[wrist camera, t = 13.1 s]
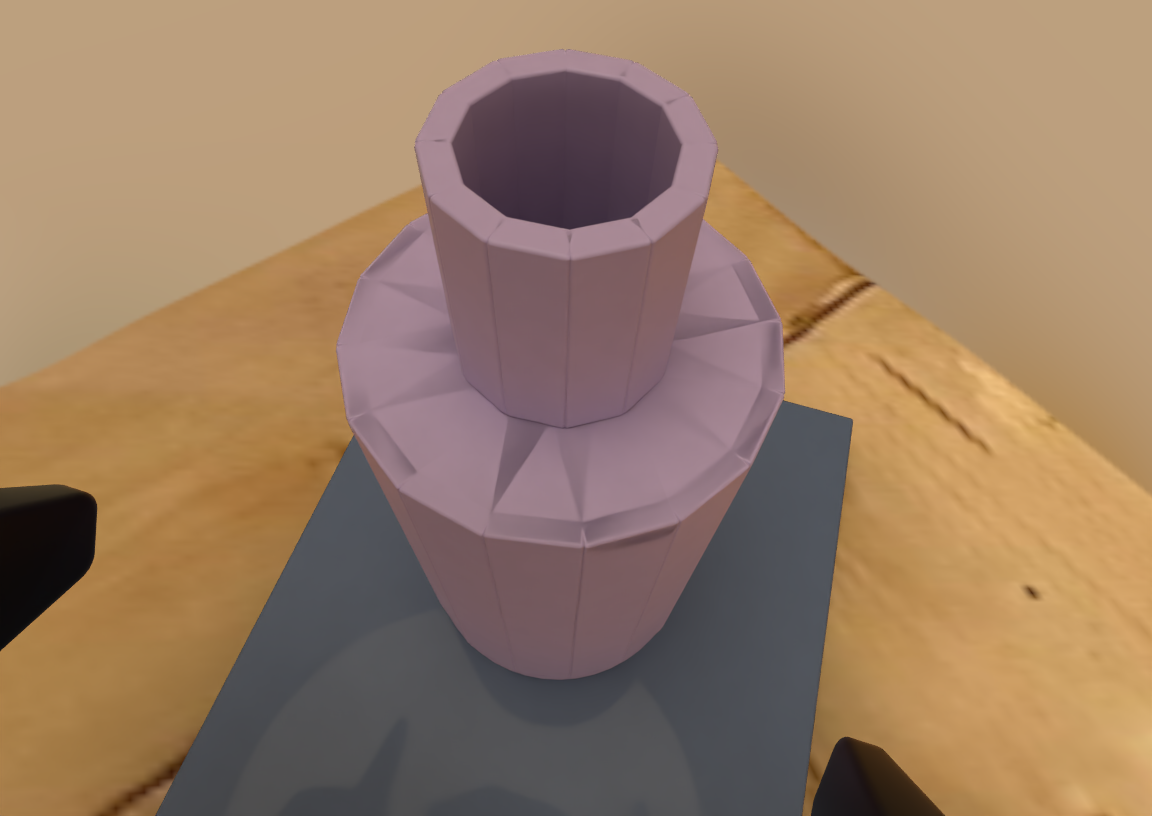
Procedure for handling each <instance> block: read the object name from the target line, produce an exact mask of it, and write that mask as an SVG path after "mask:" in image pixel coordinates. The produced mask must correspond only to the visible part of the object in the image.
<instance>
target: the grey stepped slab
mask: <svg viewBox="0 0 1152 816" xmlns="http://www.w3.org/2000/svg"><path fill="white" fill-rule="evenodd" d="M852 426H853V420H852V419H851V418H847V417H843V416H839V415H836V414H832V413H828V412H824V411H821V410H817V409H813V408H809V407H806V406H802V405H798V404H794V403H791V402H787V401H782V403H781V405H780V407H779V410H778V412H777V414H776V416H775V418H774V420H773V422H772V424H771V427H770V429H769V431H768V433H767V435H766V437H765V439H764V441H763V443H762V446H761V448H760V450H759V452H758V454H757V456H756V458H755V460H754V462H753V465H752V466H751V468H750V470H749V472H748V474H747V475H746V477H745V479H744V481H743V483H742V484H741V486H740V488H739V490H738V492H737V494H736V495H735V497H734V499H733V501H732V503H731V504H730V506H729V508H728V510H727V512H726V513H725V515H724V517H723V519H722V521H721V522H720V524H719V526H718V528H717V530H716V532H715V533H714V535H713V537H712V539H711V541H710V542H709V544H708V546H707V548H706V550H705V551H704V553H703V555H702V557H701V559H700V561H699V562H698V564H697V566H696V568H695V570H694V571H693V573H692V575H691V577H690V579H689V580H688V582H687V584H686V586H685V588H684V590H683V591H682V593H681V595H680V597H679V599H678V600H677V602H676V604H675V606H674V608H673V609H672V611H671V613H670V615H669V617H668V619H667V620H666V622H665V624H664V626H663V627H662V628H661V630H660V631H659V632H658V633H656V634H655V635H654V636H653V638H652V639H651V640H650V641H649V642H648V643H647V644H646V645H645V646H643V647H642V648H641V649H640V650H639V651H638V652H636V653H635V654H634V655H632V656H631V657H630V658H628V659H627V660H625V661H624V662H622V663H620V664H618V665H616V666H614V667H613V668H611V669H608V670H605V671H603V672H600V673H597V674H595V675H590V676H586V677H581V678H575V679H564V680H555V679H541V678H536V677H530V676H525V675H523V674H520V673H517V672H514V671H511V670H508V669H506V668H504V667H502V666H500V665H498V664H496V663H494V662H493V661H491V660H490V659H488V658H487V657H486V656H484V655H483V654H481V653H480V652H479V651H478V650H476V649H475V648H474V647H472V646H471V645H470V644H469V643H468V642H467V641H466V639H465V638H464V636H463V635H462V634H461V633H460V631H459V630H458V629H457V628H456V626H455V624H454V623H453V621H452V620H451V618H450V616H449V615H448V614H447V612H446V611H445V609H444V608H443V607H442V605H441V604H440V602H439V600H438V598H437V596H436V594H435V592H434V590H433V588H432V586H431V584H430V582H429V580H428V578H427V576H426V574H425V572H424V570H423V568H422V566H421V565H420V563H419V561H418V559H417V557H416V555H415V553H414V551H413V549H412V547H411V545H410V543H409V541H408V539H407V537H406V535H405V533H404V531H403V529H402V527H401V525H400V523H399V522H398V520H397V518H396V516H395V514H394V512H393V510H392V508H391V506H390V504H389V502H388V500H387V498H386V496H385V494H384V492H383V490H382V488H381V486H380V484H379V482H378V480H377V479H376V477H375V475H374V473H373V471H372V469H371V467H370V465H369V463H368V461H367V459H366V457H365V455H364V453H363V451H362V449H361V447H360V445H359V443H358V441H357V439H356V437H355V435H354V436H353V438H352V440H351V441H350V443H349V445H348V447H347V449H346V451H345V453H344V455H343V457H342V459H341V461H340V463H339V464H338V466H337V468H336V470H335V472H334V474H333V476H332V478H331V480H330V482H329V484H328V486H327V487H326V489H325V491H324V493H323V495H322V497H321V499H320V501H319V503H318V505H317V507H316V509H315V510H314V512H313V514H312V516H311V518H310V520H309V522H308V524H307V526H306V528H305V530H304V532H303V533H302V535H301V537H300V539H299V541H298V543H297V545H296V547H295V549H294V551H293V553H292V555H291V556H290V558H289V560H288V562H287V564H286V566H285V568H284V570H283V572H282V574H281V576H280V578H279V579H278V581H277V583H276V585H275V587H274V589H273V591H272V593H271V595H270V597H269V599H268V601H267V602H266V604H265V606H264V608H263V610H262V612H261V614H260V616H259V618H258V620H257V622H256V624H255V625H254V627H253V629H252V631H251V633H250V635H249V637H248V639H247V641H246V643H245V645H244V647H243V648H242V650H241V652H240V654H239V656H238V658H237V660H236V662H235V664H234V666H233V668H232V670H231V671H230V673H229V675H228V677H227V679H226V681H225V683H224V685H223V687H222V689H221V691H220V693H219V694H218V696H217V698H216V700H215V702H214V704H213V706H212V708H211V710H210V712H209V714H208V716H207V717H206V719H205V721H204V723H203V725H202V727H201V729H200V731H199V733H198V735H197V737H196V739H195V740H194V742H193V744H192V746H191V748H190V750H189V752H188V754H187V756H186V758H185V760H184V762H183V763H182V765H181V767H180V769H179V771H178V773H177V775H176V777H175V779H174V781H173V783H172V785H171V787H170V788H169V790H168V792H167V794H166V796H165V798H164V800H163V802H162V804H161V806H160V808H159V810H158V811H157V813H156V815H155V816H802V812H803V805H804V797H805V789H806V781H807V774H808V766H809V758H810V750H811V743H812V735H813V727H814V720H815V712H816V704H817V696H818V689H819V681H820V673H821V665H822V658H823V650H824V642H825V634H826V627H827V619H828V611H829V604H830V596H831V588H832V580H833V573H834V565H835V557H836V549H837V542H838V534H839V526H840V519H841V511H842V503H843V495H844V488H845V480H846V472H847V464H848V457H849V449H850V441H851V434H852Z"/></svg>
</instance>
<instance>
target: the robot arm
mask: <svg viewBox="0 0 1152 816" xmlns="http://www.w3.org/2000/svg"><path fill="white" fill-rule="evenodd" d="M96 521H97V504H96V501H95V499H94V497H93V496H92V495H91V494H89V493H87V492H84V491H81V490H78V489H74V488H71V487H68V486H65V485H40V486H26V487H11V488H0V651H1V650H2V649H3V648H4V647H5V646H6V645H7V644H8V643H10V642H11V641H12V640H13V639H14V638H15V637H16V636H17V635H18V634H20V633H21V632H22V631H23V630H24V629H25V628H26V627H27V626H29V625H30V624H31V623H32V622H33V621H34V620H35V619H36V618H37V617H39V616H40V615H41V614H42V613H43V612H44V611H45V610H46V609H47V608H49V607H50V606H51V605H52V604H53V603H54V602H55V601H56V600H57V599H59V598H60V597H61V596H62V595H63V594H64V593H65V592H66V591H67V590H69V589H70V588H71V587H72V586H73V585H74V584H75V583H76V582H78V581H79V580H80V579H81V578H82V577H83V576H84V575H85V574H86V572H87V571H88V570H89V568H90V566H91V564H92V562H93V559H94V554H95V538H96ZM811 816H945V815H944V814H943V813H942V812H941V811H940V810H939V809H938V808H937V806H936V805H935V804H934V803H933V802H932V801H931V800H930V799H929V798H928V797H927V796H926V795H925V794H924V793H923V792H922V790H921V789H920V788H919V787H918V786H917V785H916V784H915V783H914V782H913V781H912V780H911V779H910V778H909V777H908V775H907V774H906V773H905V772H904V771H903V770H902V769H901V768H900V767H899V766H898V765H897V764H896V763H895V762H894V760H893V759H892V758H891V757H890V756H889V755H888V754H887V753H886V752H885V751H884V750H883V749H881V748H880V747H878V746H875V745H872V744H869V743H866V742H862V741H859V740H856V739H853V738H850V737H844V738H842V739H840V740H839V741H838V742H837V744H836V745H835V747H834V750H833V752H832V755H831V757H830V760H829V762H828V765H827V767H826V770H825V772H824V775H823V777H822V780H821V782H820V785H819V788H818V790H817V793H816V795H815V798H814V802H813V807H812V813H811Z"/></svg>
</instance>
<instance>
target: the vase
mask: <svg viewBox="0 0 1152 816" xmlns="http://www.w3.org/2000/svg"><path fill="white" fill-rule="evenodd" d="M414 148H415V153H416V157H417V162H418V167H419V172H420V177H421V182H422V187H423V192H424V197H425V201H426V206H427V211H428V213H427V214H425V215H423V216H421V217H419V218H417V219H415V220H413V221H412V222H410V223H409V224H408V225H406V226H405V227H404V228H403V229H402V231H401V232H400V233H399V234H398V235H397V236H396V237H395V238H394V239H393V240H392V241H391V243H390V244H389V245H388V246H387V247H386V248H385V249H384V250H383V251H382V252H381V254H380V255H379V256H378V257H377V258H376V259H375V260H374V261H373V262H372V263H371V264H370V266H369V267H368V268H367V269H366V270H365V271H364V272H363V273H362V274H361V276H360V278H359V279H358V282H357V285H356V288H355V291H354V294H353V297H352V300H351V303H350V305H349V308H348V311H347V314H346V317H345V320H344V323H343V326H342V329H341V332H340V335H339V338H338V341H337V348H336V353H337V359H338V366H339V372H340V379H341V385H342V392H343V398H344V405H345V411H346V418H347V421H348V423H349V426H350V428H351V430H352V432H353V434H354V435H355V437H356V439H357V441H358V443H359V445H360V447H361V449H362V451H363V453H364V455H365V457H366V459H367V461H368V463H369V465H370V467H371V469H372V471H373V473H374V475H375V477H376V479H377V480H378V482H379V484H380V486H381V488H382V490H383V492H384V494H385V496H386V498H387V500H388V502H389V504H390V506H391V508H392V510H393V512H394V514H395V516H396V518H397V520H398V522H399V523H400V525H401V527H402V529H403V531H404V533H405V535H406V537H407V539H408V541H409V543H410V545H411V547H412V549H413V551H414V553H415V555H416V557H417V559H418V561H419V563H420V565H421V566H422V568H423V570H424V572H425V574H426V576H427V578H428V580H429V582H430V584H431V586H432V588H433V590H434V592H435V594H436V596H437V598H438V600H439V602H440V604H441V605H442V607H443V608H444V609H445V611H446V612H447V614H448V615H449V616H450V618H451V620H452V621H453V623H454V624H455V626H456V628H457V629H458V630H459V631H460V633H461V634H462V635H463V636H464V638H465V639H466V641H467V642H468V643H469V644H470V645H471V646H472V647H474V648H475V649H476V650H478V651H479V652H480V653H481V654H483V655H484V656H486V657H487V658H488V659H490V660H491V661H493V662H494V663H496V664H498V665H500V666H502V667H504V668H506V669H508V670H511V671H514V672H517V673H520V674H523V675H525V676H530V677H536V678H541V679H555V680H564V679H575V678H581V677H586V676H590V675H595V674H597V673H600V672H603V671H605V670H608V669H611V668H613V667H614V666H616V665H618V664H620V663H622V662H624V661H625V660H627V659H628V658H630V657H631V656H632V655H634V654H635V653H636V652H638V651H639V650H640V649H641V648H642V647H643V646H645V645H646V644H647V643H648V642H649V641H650V640H651V639H652V638H653V636H654V635H655V634H656V633H658V632H659V631H660V630H661V628H662V627H663V626H664V624H665V622H666V620H667V619H668V617H669V615H670V613H671V611H672V609H673V608H674V606H675V604H676V602H677V600H678V599H679V597H680V595H681V593H682V591H683V590H684V588H685V586H686V584H687V582H688V580H689V579H690V577H691V575H692V573H693V571H694V570H695V568H696V566H697V564H698V562H699V561H700V559H701V557H702V555H703V553H704V551H705V550H706V548H707V546H708V544H709V542H710V541H711V539H712V537H713V535H714V533H715V532H716V530H717V528H718V526H719V524H720V522H721V521H722V519H723V517H724V515H725V513H726V512H727V510H728V508H729V506H730V504H731V503H732V501H733V499H734V497H735V495H736V494H737V492H738V490H739V488H740V486H741V484H742V483H743V481H744V479H745V477H746V475H747V474H748V472H749V470H750V468H751V466H752V465H753V462H754V460H755V458H756V456H757V454H758V452H759V450H760V448H761V446H762V443H763V441H764V439H765V437H766V435H767V433H768V431H769V429H770V427H771V424H772V422H773V420H774V418H775V416H776V414H777V412H778V410H779V407H780V405H781V403H782V401H783V399H784V394H785V377H784V352H783V326H782V322H781V318H780V316H779V314H778V313H777V311H776V309H775V307H774V305H773V303H772V301H771V299H770V297H769V296H768V294H767V292H766V290H765V288H764V286H763V284H762V282H761V280H760V279H759V277H758V275H757V273H756V271H755V269H754V267H753V265H752V263H751V261H750V260H749V259H748V258H747V256H746V255H745V254H743V253H742V252H741V251H740V250H739V249H738V248H736V247H735V246H734V245H733V244H732V243H730V242H729V241H728V240H727V239H726V238H725V237H723V236H722V235H721V234H720V233H719V232H718V231H716V230H715V229H714V228H713V227H712V226H711V225H709V224H708V223H707V222H706V221H705V220H703V216H704V212H705V208H706V204H707V200H708V195H709V191H710V186H711V181H712V177H713V172H714V167H715V163H716V158H717V153H718V147H717V141H716V139H715V137H714V136H713V134H712V132H711V130H710V129H709V127H708V125H707V123H706V121H705V119H704V118H703V116H702V114H701V112H700V110H699V109H698V107H697V105H696V103H695V102H694V100H693V98H692V97H691V96H689V94H688V93H687V92H685V91H684V90H682V89H680V88H679V87H677V86H676V85H674V84H672V83H671V82H669V81H667V80H666V79H664V78H662V77H661V76H659V75H657V74H656V73H654V72H652V71H651V70H649V69H648V68H646V67H644V66H643V65H641V64H639V63H636V62H635V63H634V62H633V61H631V60H627V59H621V58H616V57H610V56H604V55H599V54H593V53H587V52H582V51H576V50H570V49H568V50H566V51H565V50H564V49H559V50H553V51H546V52H540V53H533V54H527V55H521V56H514V57H508V58H501V59H498V60H497V61H492V62H490V63H489V64H487V65H486V66H484V67H482V68H480V69H479V70H477V71H475V72H474V73H472V74H471V75H469V76H467V77H465V78H464V79H462V80H460V81H459V82H457V83H455V84H453V85H452V86H450V87H449V88H447V89H445V90H444V91H443V92H442V94H440V95H439V96H438V98H437V100H436V102H435V104H434V106H433V108H432V110H431V111H430V113H429V115H428V117H427V119H426V121H425V123H424V125H423V127H422V129H421V130H420V133H419V134H418V136H417V138H416V141H415V147H414Z"/></svg>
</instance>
